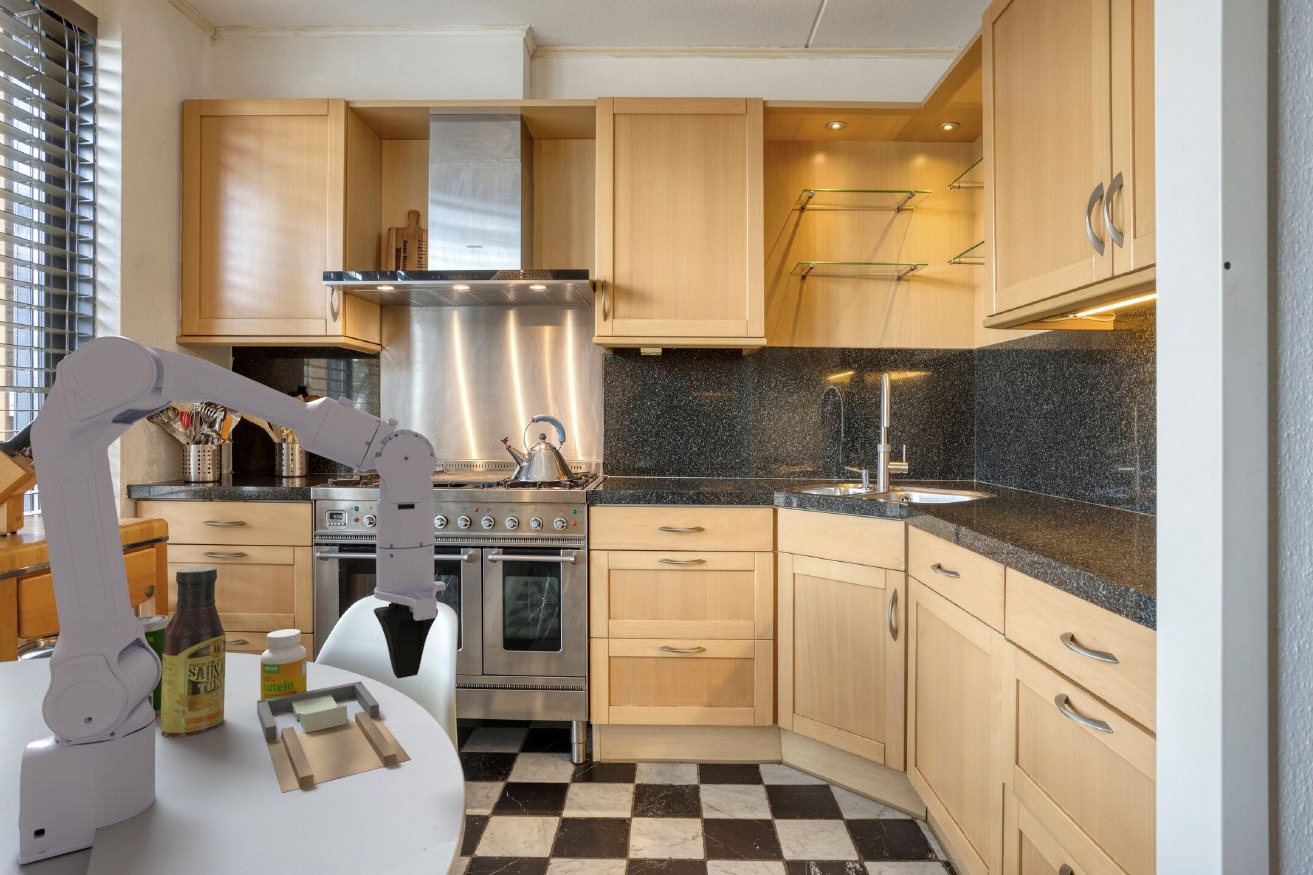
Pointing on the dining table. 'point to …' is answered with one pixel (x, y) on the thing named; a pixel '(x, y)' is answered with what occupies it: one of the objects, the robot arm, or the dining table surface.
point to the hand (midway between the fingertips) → (406, 675)
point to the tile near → (323, 718)
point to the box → (285, 702)
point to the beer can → (155, 639)
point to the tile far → (312, 705)
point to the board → (333, 752)
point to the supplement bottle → (283, 665)
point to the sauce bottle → (193, 658)
